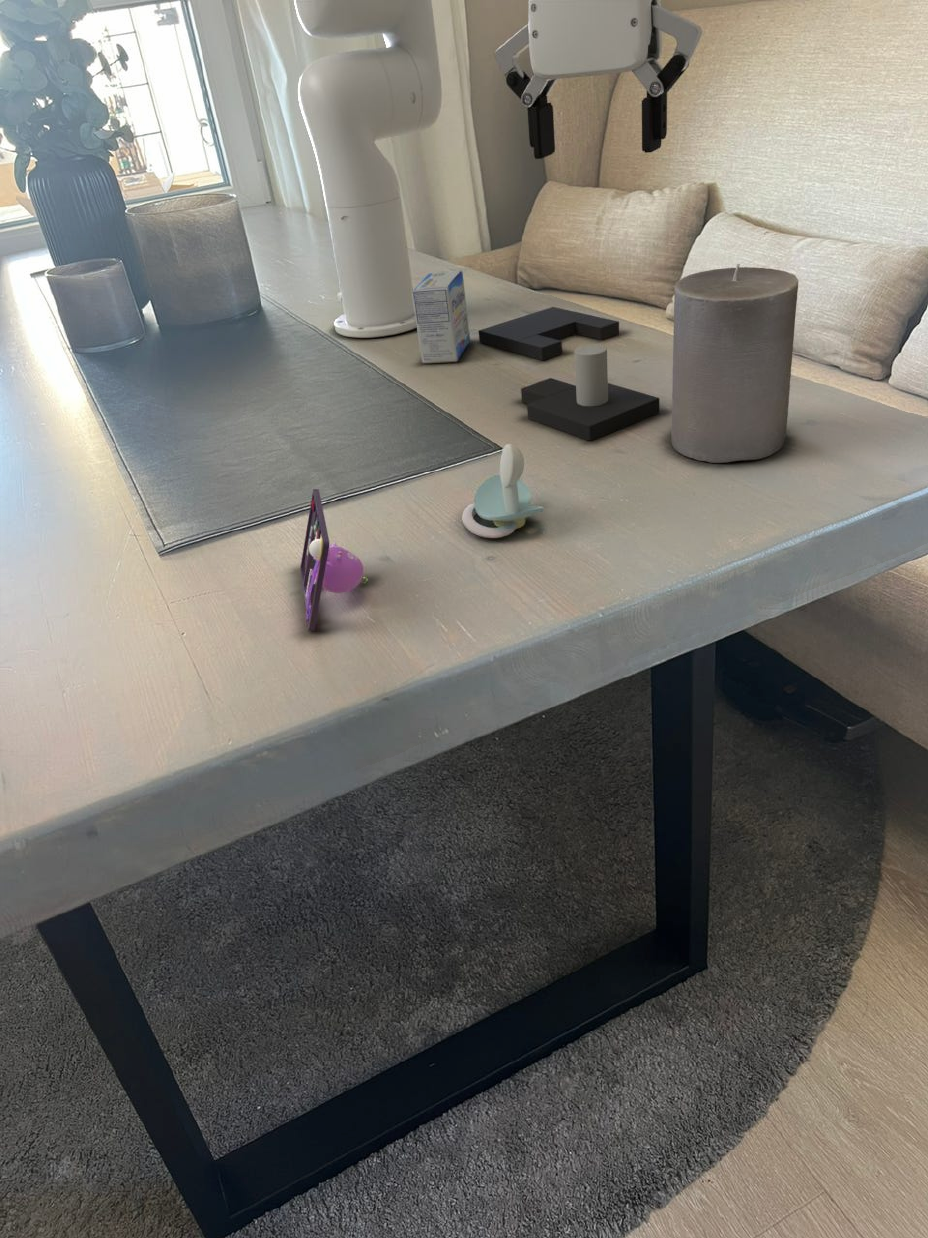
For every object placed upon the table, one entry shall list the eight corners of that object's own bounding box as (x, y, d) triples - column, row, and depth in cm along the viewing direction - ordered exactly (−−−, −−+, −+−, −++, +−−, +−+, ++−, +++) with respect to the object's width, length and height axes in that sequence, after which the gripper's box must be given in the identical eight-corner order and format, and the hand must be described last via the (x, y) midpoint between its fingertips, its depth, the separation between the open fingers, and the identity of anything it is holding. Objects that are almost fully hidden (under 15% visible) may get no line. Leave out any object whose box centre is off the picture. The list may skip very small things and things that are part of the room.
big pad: (479, 342, 115) (478, 330, 114) (553, 318, 121) (553, 306, 120) (542, 360, 107) (541, 347, 106) (619, 333, 112) (619, 321, 111)
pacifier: (476, 551, 71) (551, 533, 72) (465, 476, 67) (544, 457, 68) (454, 512, 77) (523, 495, 78) (442, 441, 73) (515, 424, 74)
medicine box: (457, 363, 109) (449, 286, 105) (420, 364, 110) (410, 289, 106) (470, 342, 116) (463, 269, 111) (436, 343, 117) (427, 271, 112)
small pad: (502, 409, 95) (496, 345, 92) (569, 384, 99) (566, 322, 96) (590, 441, 86) (587, 371, 82) (659, 412, 90) (660, 345, 86)
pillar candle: (710, 414, 88) (717, 246, 80) (807, 434, 82) (824, 255, 74) (648, 449, 83) (648, 273, 75) (746, 474, 77) (758, 285, 68)
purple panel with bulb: (303, 486, 67) (312, 541, 60) (374, 495, 69) (391, 550, 61) (290, 568, 71) (297, 630, 63) (358, 575, 72) (373, 637, 65)
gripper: (716, -114, 70) (709, 140, 79) (506, -77, 78) (522, 151, 87) (688, -120, 65) (684, 154, 74) (466, -79, 72) (487, 165, 81)
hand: (597, 153), depth 80 cm, fingers open, 9 cm apart
